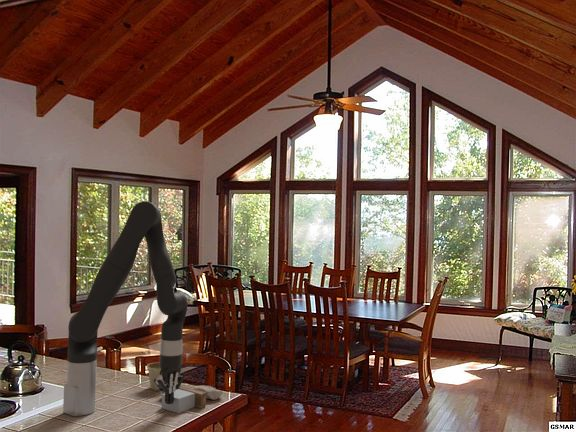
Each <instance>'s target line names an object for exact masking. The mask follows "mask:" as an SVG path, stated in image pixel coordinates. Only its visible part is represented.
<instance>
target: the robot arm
mask: <svg viewBox="0 0 576 432" xmlns="http://www.w3.org/2000/svg"><path fill="white" fill-rule="evenodd" d="M143 239H145V242H146V246H147V249H148V254H149V256H148V257H149V263H150V268H151V272H152V275H153V277H154V282H155V286H156V290H155V291H156V302H157V307H158V309H159V311H160V312H161V313H162V314H163V315H165V316H167V318H166V319H165V321H164V322H163V323H162V324H161V332H160V333H161V334H160V335H161V336H160V337H161V338H160V345H159V361H158V362H159V365H160V367H161V371H160V376H159V377H158V378H157V379H156V378H155V379H154V382H155V384H156V385H157V387H158V388H159V389H158V391H160V392H161V393H162V392H165V403H166V404H172V403H173V401H174V392H175V390H176V389H179V387H180V386H182V384H183V381H184V380H185V377H186V375H187V374H186V373H185V372H183V371H182V368H181V367H182V366H183V351H184V350H183V347H184V345H183V326H184V323H185V321H186V315H187V311H188V300H187V297H186V295H185V294H184V293H182V292H181V291H176V292H174V291H175V290H174V285H175V284H176V283H177V281H178V279H177V276H176V272H175V268H174V265H173V263H172V259H171V256H170V254H169V251H168V248H167V242H166V240H165V235H164V229H163V221H162V213H161V211H160V209H159V208H158V207H157V205H155V204H154V203H153V202H151V201H147V200H143V201H139V202H137V203H136V204H134V206H133V207H132V209H131V210H130V213H129V215H128V218H127V220H126V223H125V224H124V227H123V228H122V231H121V233H120V235H119V236H118V238H117V240H116V241H115V243H114V245H112V248H111V249H110V251H109V252H108V254H107V256H106V257H105V259H104V261H103V263H102V264H101V266H100V268H99V269H98V270H97V271H98V272H97V273H96V276H95V279H94V281H93V282H92V285H91V288H90V291H89V294H88V296H87V297H86V298H85V299H86V300H85V301H84V302H83V304H82V306H81V307H80V308H79V310H78V311H77V312H75V313H74V314H73V315H72V316H71V317H70V320H69V322H68V330H67V331H68V339H67V342H68V344H67V367H66V369H67V370H66V371H67V372H66V383H64V384H63V403H62V405H63V407H62V413H63V414H66V415H69V416H72V417H80V416H88V415H91V414H94V412H95V410H96V393H97V392H96V391H97V390H96V389H97V363H98V361H97V359H98V357H97V356H98V333H99V332H98V330H99V327H100V325H101V323H102V320H103V318H104V316H105V313H106V312H107V309H108V308H109V306H110V304H111V303H112V301H113V300H114V299H115V297H116V296H117V294H118V292H119V291H120V290H121V288H122V287H123V285H124V283H125V282H126V280H127V278H128V276H129V275H130V273H131V271H132V270H133V269H132V268H133V266H134V264H135V261H136V258H137V255H138V250H139V247H140V245H141V243H142V241H143Z"/></svg>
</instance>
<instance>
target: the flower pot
mask: <svg viewBox="0 0 576 432" xmlns="http://www.w3.org/2000/svg"><path fill="white" fill-rule="evenodd" d="M146 368H147V371H148V377H149V386H150V387H149V388H150V389H151V390H154V391H159V388H158V387H157V385H156V384H155V382H154V379H155V378H156V379H157V378H158V377H159V376H160V371H161V367H160V365H159V361H158V362H151V363H147V365H146Z"/></svg>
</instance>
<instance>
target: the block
mask: <svg viewBox="0 0 576 432" xmlns="http://www.w3.org/2000/svg"><path fill="white" fill-rule="evenodd" d="M190 408H191V409H193V408H196V407H195V393H192V392H189V391H185V390H181V389H176V390H175V392H174V401H173V403H172V404H166V403H165V393H164V394H161V409H163V410H167V411H170V412H174V413H177V414H180V413H182V412H184V411H188V410H190Z"/></svg>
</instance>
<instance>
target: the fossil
mask: <svg viewBox="0 0 576 432" xmlns="http://www.w3.org/2000/svg"><path fill="white" fill-rule="evenodd" d="M193 389H195V390H198V391H202V392H206V400H213V401H214V400H218V399H219V398H220V397H221V396H222V395H223V391H222V390H220V389H217V388H215V387H213V386H211V385H196V386H195V385H194V386H193Z"/></svg>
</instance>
